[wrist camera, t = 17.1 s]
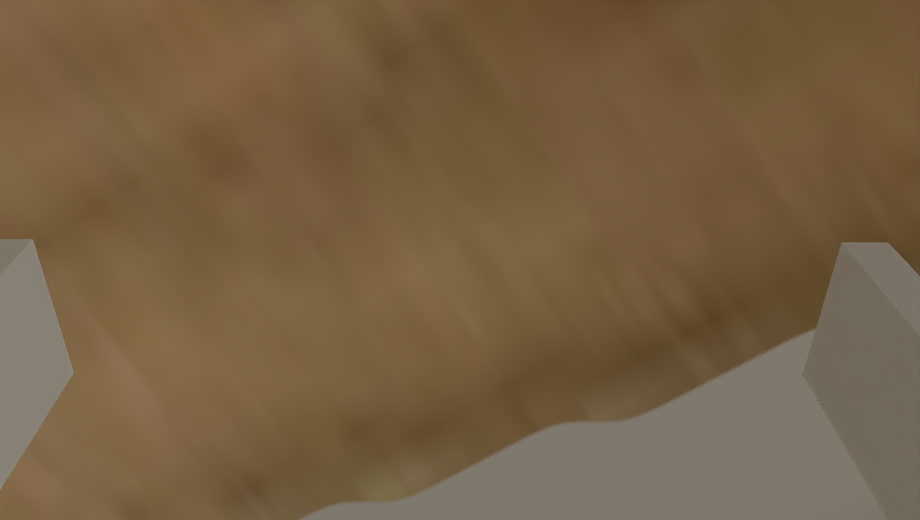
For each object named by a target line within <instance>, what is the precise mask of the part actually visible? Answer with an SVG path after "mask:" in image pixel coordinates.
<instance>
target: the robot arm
mask: <svg viewBox="0 0 920 520" xmlns="http://www.w3.org/2000/svg"><path fill="white" fill-rule="evenodd" d="M73 373H74V372H73V369H72V366H71V362H70V359H69V356H68V353H67V349H66V346H65V343H64V340H63V336H62V333H61V330H60V327H59V323H58V320H57V317H56V314H55V310H54V307H53V304H52V301H51V297H50V294H49V291H48V288H47V284H46V281H45V278H44V275H43V271H42V268H41V265H40V262H39V258H38V255H37V252H36V248H35V245H34V242H33V239H0V489H1V488H2V486H3V484H4V483H5V481H6V480H7V478H8V476H9V475H10V473H11V472H12V470H13V469H14V467H15V465H16V464H17V462H18V461H19V459H20V457H21V456H22V454H23V453H24V451H25V450H26V448H27V446H28V445H29V443H30V442H31V440H32V438H33V437H34V435H35V434H36V432H37V430H38V429H39V427H40V426H41V424H42V423H43V421H44V419H45V418H46V416H47V415H48V413H49V411H50V410H51V408H52V407H53V405H54V404H55V402H56V400H57V399H58V397H59V396H60V394H61V392H62V391H63V389H64V388H65V386H66V384H67V383H68V381H69V380H70V378H71V377H72V375H73ZM803 376H804V377H805V379H806V381H807V382H808V384H809V386H810V388H811V389H812V391H813V393H814V395H815V396H816V398H817V399H818V401H819V403H820V405H821V406H822V408H823V410H824V412H825V413H826V415H827V417H828V418H829V420H830V422H831V424H832V425H833V427H834V429H835V431H836V432H837V434H838V436H839V438H840V439H841V441H842V443H843V444H844V446H845V448H846V450H847V451H848V453H849V454H850V456H851V458H852V460H853V461H854V463H855V465H856V467H857V468H858V470H859V471H860V474H861V475H862V477H863V479H864V480H865V482H866V484H867V486H868V487H869V489H870V491H871V492H872V494H873V496H874V498H875V499H876V501H877V503H878V504H879V506H880V508H881V509H882V511H883V513H884V515H885V516H886V518H887V520H920V276H919V275H918V274H917V273H916V272H915V271H914V270H913V269H912V268H911V267H910V266H909V264H908V263H907V262H906V261H905V260H904V259H903V258H902V257H901V256H900V255H899V254H898V253H897V252H896V250H895V249H894V248H893V247H892V246H891V245H890V244H889V243H841V247H840V250H839V253H838V257H837V260H836V263H835V267H834V270H833V274H832V277H831V280H830V284H829V287H828V290H827V294H826V297H825V301H824V304H823V307H822V311H821V314H820V318H819V321H818V324H817V328H816V331H815V334H814V338H813V341H812V345H811V348H810V351H809V355H808V358H807V362H806V365H805V369H804V372H803Z"/></svg>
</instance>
